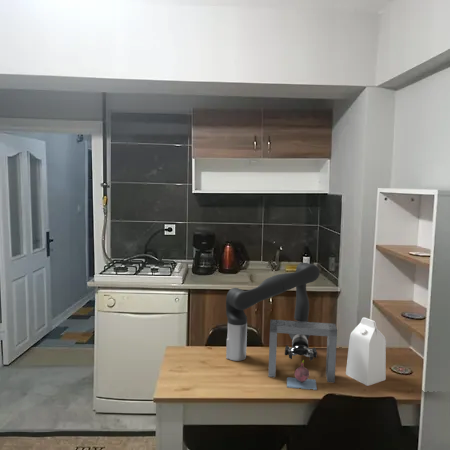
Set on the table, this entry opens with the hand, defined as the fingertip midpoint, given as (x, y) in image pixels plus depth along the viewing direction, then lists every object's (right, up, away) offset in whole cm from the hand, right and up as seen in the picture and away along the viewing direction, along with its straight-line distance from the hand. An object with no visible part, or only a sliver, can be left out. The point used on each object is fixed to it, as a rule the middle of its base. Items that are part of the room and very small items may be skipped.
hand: (301, 357), depth 186 cm
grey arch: (0, -7, -2) cm, 7 cm away
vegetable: (-2, -8, -10) cm, 12 cm away
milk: (+28, -8, -2) cm, 29 cm away
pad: (-2, -8, -10) cm, 13 cm away
